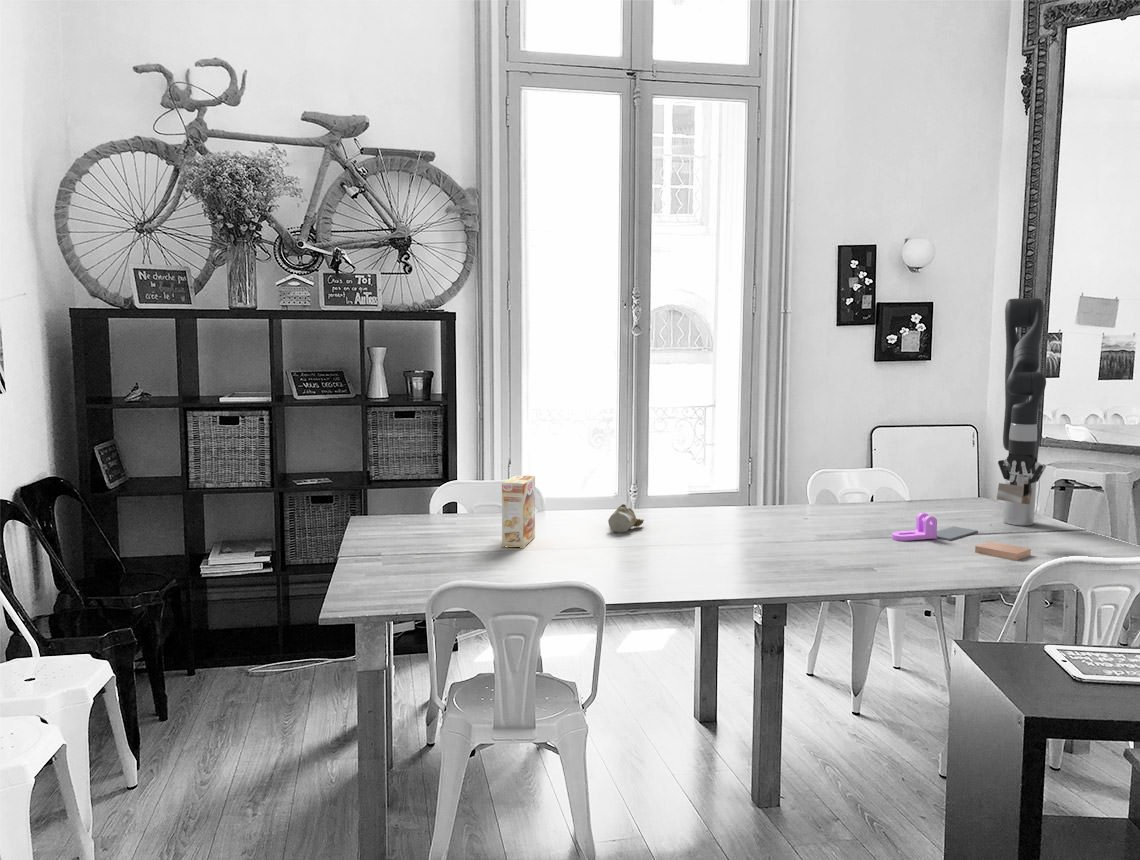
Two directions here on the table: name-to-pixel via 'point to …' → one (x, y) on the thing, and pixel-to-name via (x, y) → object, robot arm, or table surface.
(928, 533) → the bracket
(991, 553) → the tile
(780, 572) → the table surface
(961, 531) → the mat
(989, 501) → the table surface
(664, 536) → the table surface
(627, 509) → the ceramic sculpture
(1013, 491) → the upright plank on base
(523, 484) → the coffeecake box
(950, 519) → the table surface
